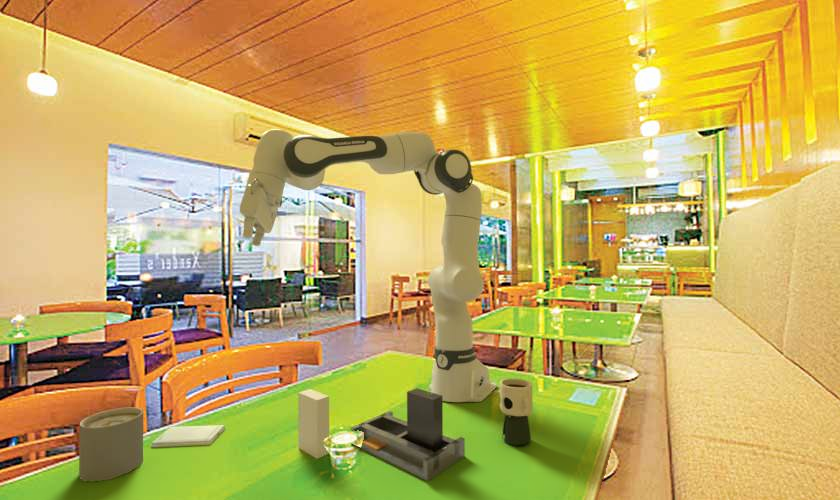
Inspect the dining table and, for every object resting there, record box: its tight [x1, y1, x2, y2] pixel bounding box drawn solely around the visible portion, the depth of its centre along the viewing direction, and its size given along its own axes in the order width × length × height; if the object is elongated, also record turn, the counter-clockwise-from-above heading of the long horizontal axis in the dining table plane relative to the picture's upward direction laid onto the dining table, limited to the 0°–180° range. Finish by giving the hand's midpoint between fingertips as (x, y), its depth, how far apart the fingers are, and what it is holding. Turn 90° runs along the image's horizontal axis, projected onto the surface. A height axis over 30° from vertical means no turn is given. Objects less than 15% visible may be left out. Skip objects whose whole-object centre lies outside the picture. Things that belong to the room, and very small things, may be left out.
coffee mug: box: [78, 406, 144, 482], centre depth 79 cm, size 13×10×10 cm
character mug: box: [499, 377, 534, 446], centre depth 88 cm, size 11×7×13 cm, turn 14°
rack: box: [350, 387, 466, 482], centre depth 84 cm, size 12×22×13 cm, turn 49°
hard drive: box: [150, 424, 226, 448], centre depth 91 cm, size 2×8×12 cm
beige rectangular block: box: [297, 388, 330, 460], centre depth 84 cm, size 3×7×12 cm, turn 49°
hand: (251, 241), depth 98 cm, fingers open, 8 cm apart
